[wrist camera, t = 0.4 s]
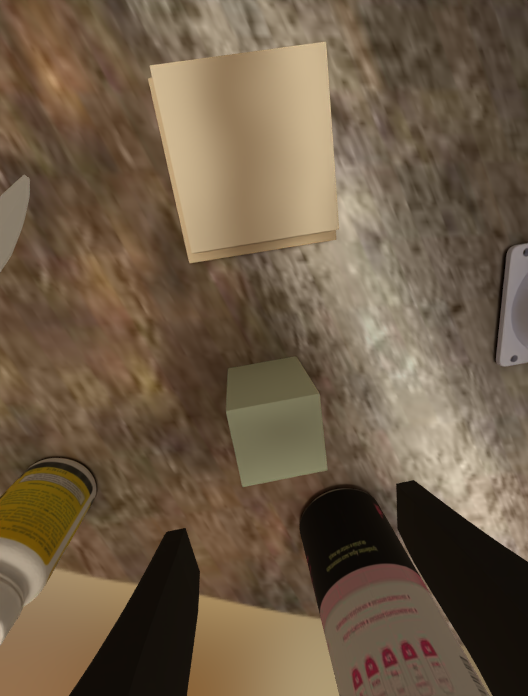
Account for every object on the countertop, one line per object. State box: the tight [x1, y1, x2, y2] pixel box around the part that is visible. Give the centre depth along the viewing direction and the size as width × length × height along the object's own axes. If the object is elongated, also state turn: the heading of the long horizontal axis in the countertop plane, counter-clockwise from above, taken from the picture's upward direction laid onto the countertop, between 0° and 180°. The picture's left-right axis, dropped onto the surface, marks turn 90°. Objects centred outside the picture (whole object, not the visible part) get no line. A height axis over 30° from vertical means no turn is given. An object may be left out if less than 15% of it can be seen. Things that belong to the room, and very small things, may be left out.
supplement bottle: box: [0, 458, 96, 645], centre depth 16 cm, size 5×5×8 cm
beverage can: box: [300, 488, 489, 696], centre depth 17 cm, size 6×6×15 cm
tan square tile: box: [150, 42, 339, 253], centre depth 14 cm, size 7×7×2 cm
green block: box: [226, 356, 327, 487], centre depth 17 cm, size 4×4×6 cm
